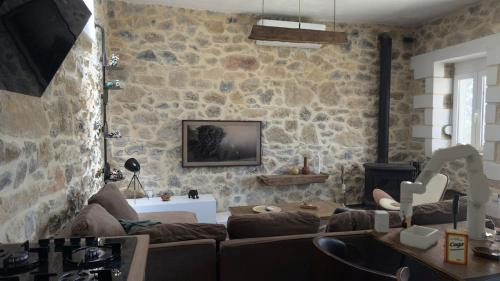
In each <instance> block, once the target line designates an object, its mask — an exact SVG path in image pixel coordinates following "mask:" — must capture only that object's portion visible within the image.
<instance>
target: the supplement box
mask: <svg viewBox="0 0 500 281" xmlns="http://www.w3.org/2000/svg"><path fill="white" fill-rule="evenodd" d="M374 230H375V231H376V232H377V233H390V213H389V212H388V211H386V210H375V211H374Z"/></svg>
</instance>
